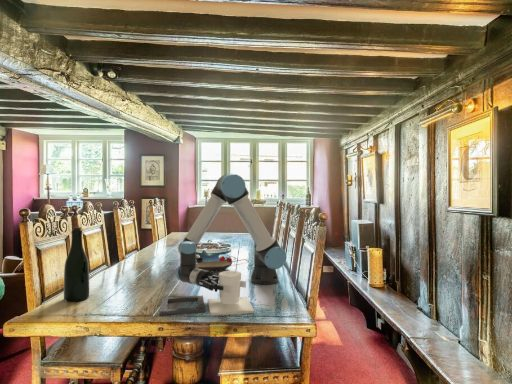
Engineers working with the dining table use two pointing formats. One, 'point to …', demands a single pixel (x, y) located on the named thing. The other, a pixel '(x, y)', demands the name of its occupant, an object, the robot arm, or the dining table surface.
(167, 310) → the dark grey square frame
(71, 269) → the dark wine bottle
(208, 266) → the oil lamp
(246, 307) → the cream tile
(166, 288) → the dining table surface
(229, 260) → the glasses
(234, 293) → the candle holder
